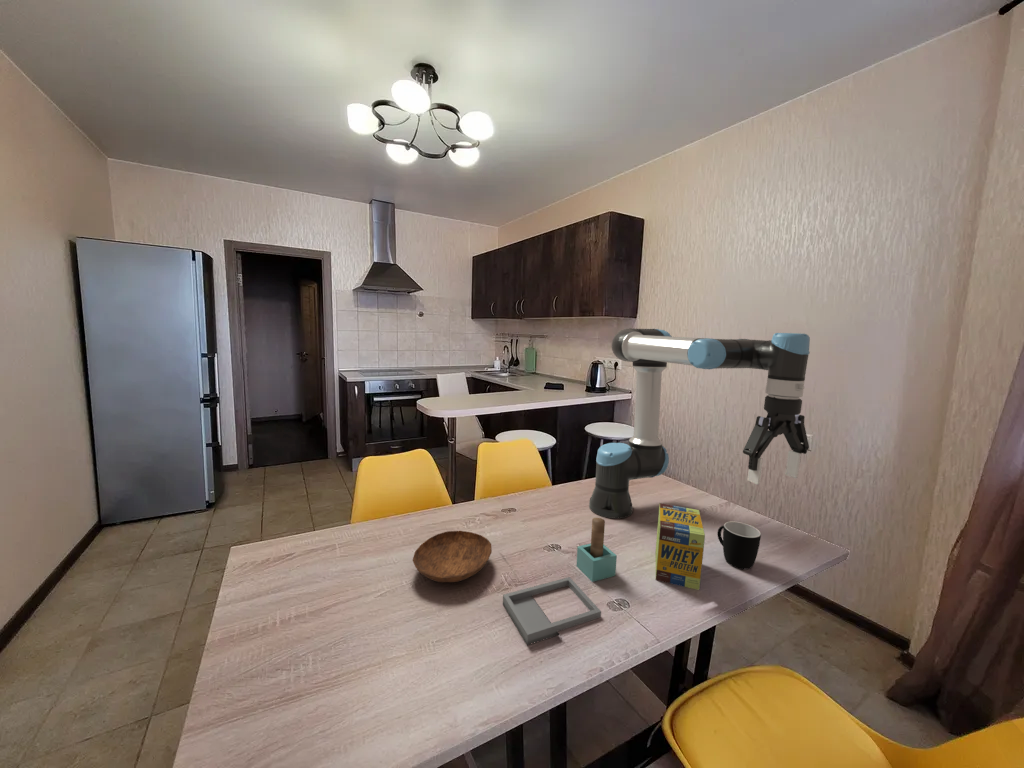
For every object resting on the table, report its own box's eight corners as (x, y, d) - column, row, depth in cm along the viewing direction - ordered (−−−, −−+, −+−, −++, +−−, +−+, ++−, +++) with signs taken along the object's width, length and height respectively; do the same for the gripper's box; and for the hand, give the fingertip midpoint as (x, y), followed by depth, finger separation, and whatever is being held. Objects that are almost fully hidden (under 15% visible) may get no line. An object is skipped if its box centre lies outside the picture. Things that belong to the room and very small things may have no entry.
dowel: (586, 568, 104) (589, 518, 102) (596, 565, 106) (599, 516, 104) (594, 575, 101) (597, 524, 99) (604, 572, 103) (607, 522, 101)
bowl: (502, 554, 112) (502, 538, 111) (469, 604, 91) (469, 585, 90) (441, 540, 118) (441, 525, 117) (397, 584, 97) (396, 566, 97)
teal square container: (576, 569, 105) (577, 546, 104) (598, 563, 108) (599, 541, 107) (591, 585, 99) (593, 561, 98) (615, 579, 102) (616, 555, 101)
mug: (764, 569, 108) (769, 534, 106) (739, 575, 105) (743, 539, 103) (728, 546, 119) (731, 514, 118) (704, 551, 116) (708, 518, 115)
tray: (502, 604, 91) (503, 594, 91) (569, 585, 99) (569, 576, 98) (527, 645, 80) (527, 634, 79) (600, 621, 87) (601, 611, 87)
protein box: (654, 584, 100) (659, 526, 98) (655, 552, 115) (659, 502, 112) (699, 594, 97) (705, 535, 95) (694, 560, 111) (699, 508, 109)
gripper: (761, 401, 88) (750, 491, 91) (833, 397, 97) (821, 479, 100) (732, 395, 95) (723, 479, 98) (802, 392, 104) (791, 469, 107)
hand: (772, 479), depth 99 cm, fingers open, 13 cm apart
